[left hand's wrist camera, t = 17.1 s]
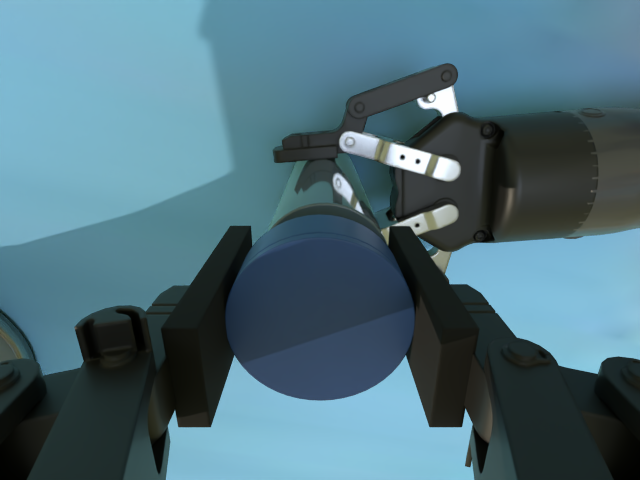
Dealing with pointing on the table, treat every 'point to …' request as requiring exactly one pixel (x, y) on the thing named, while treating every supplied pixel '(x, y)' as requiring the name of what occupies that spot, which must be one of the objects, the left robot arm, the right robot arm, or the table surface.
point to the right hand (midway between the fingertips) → (281, 197)
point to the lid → (320, 309)
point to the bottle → (326, 193)
